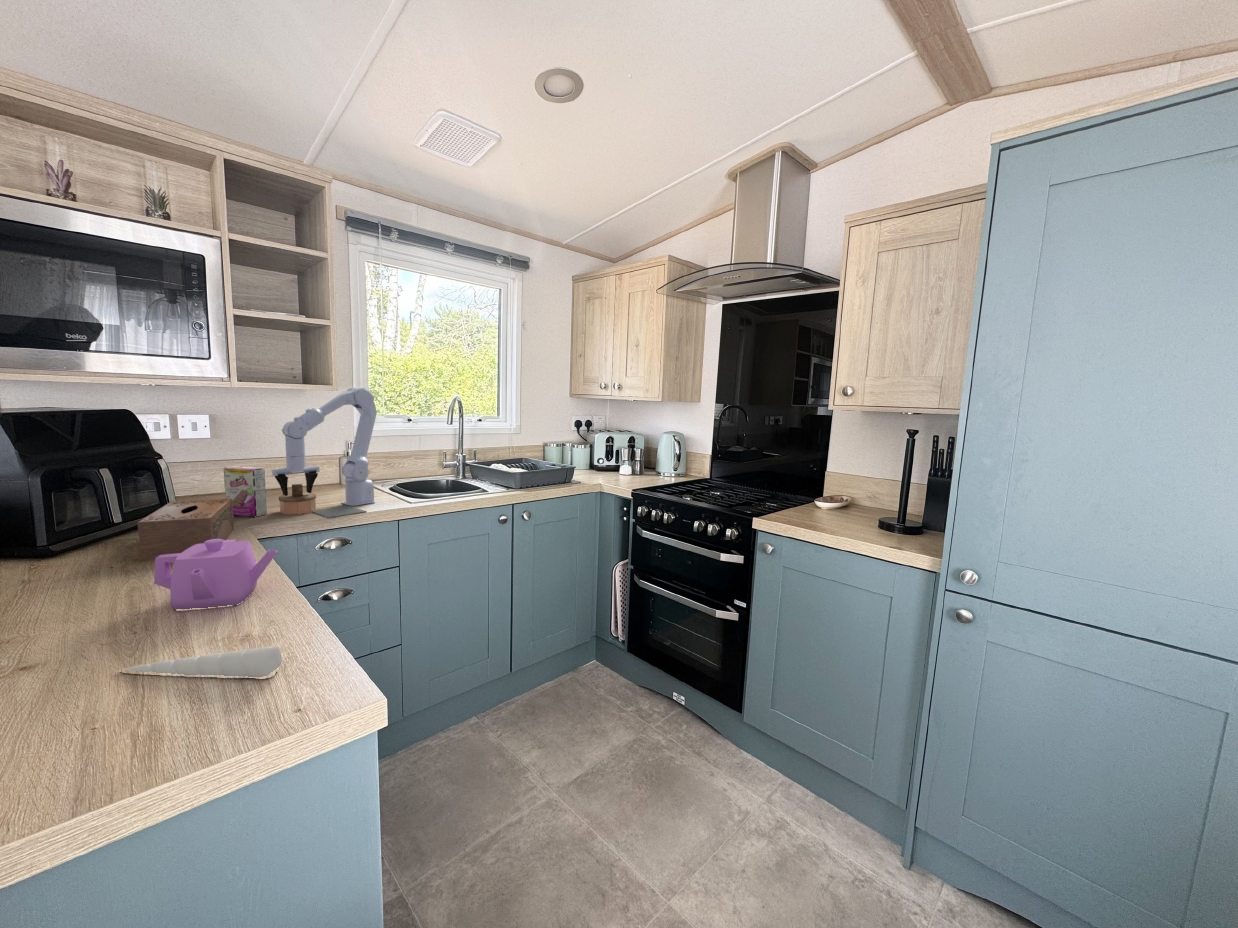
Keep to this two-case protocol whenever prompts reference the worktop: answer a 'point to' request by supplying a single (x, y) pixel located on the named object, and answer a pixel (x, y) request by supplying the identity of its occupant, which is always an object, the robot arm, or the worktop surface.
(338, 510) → the mat
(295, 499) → the lid
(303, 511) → the bowl
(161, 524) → the tissue box cover
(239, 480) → the candy bar box
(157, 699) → the worktop surface
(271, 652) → the unicorn horn
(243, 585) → the teakettle
